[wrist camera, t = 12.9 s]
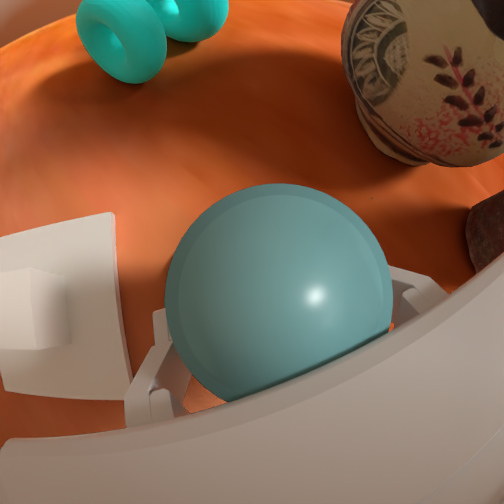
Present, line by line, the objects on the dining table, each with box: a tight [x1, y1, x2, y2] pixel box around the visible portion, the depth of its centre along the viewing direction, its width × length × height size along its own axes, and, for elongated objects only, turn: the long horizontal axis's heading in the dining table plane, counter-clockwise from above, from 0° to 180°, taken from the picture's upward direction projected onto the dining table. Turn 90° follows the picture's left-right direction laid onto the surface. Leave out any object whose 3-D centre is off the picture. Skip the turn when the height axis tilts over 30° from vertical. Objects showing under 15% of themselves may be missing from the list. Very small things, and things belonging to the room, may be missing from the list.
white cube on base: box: [0, 212, 133, 400], centre depth 13 cm, size 12×12×5 cm
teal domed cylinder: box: [165, 183, 393, 402], centre depth 11 cm, size 5×5×9 cm
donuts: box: [76, 0, 229, 84], centre depth 16 cm, size 10×10×10 cm
